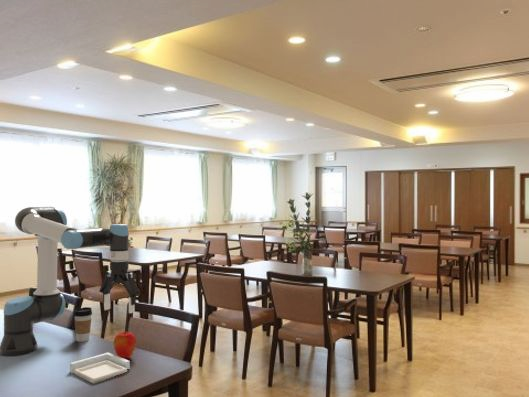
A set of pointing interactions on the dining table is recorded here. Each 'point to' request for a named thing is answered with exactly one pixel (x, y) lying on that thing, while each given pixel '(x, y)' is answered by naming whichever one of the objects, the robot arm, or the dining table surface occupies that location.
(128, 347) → the apple
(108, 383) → the dining table surface
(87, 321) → the coffee cup
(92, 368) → the dish
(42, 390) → the dining table surface
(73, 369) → the pen walls
